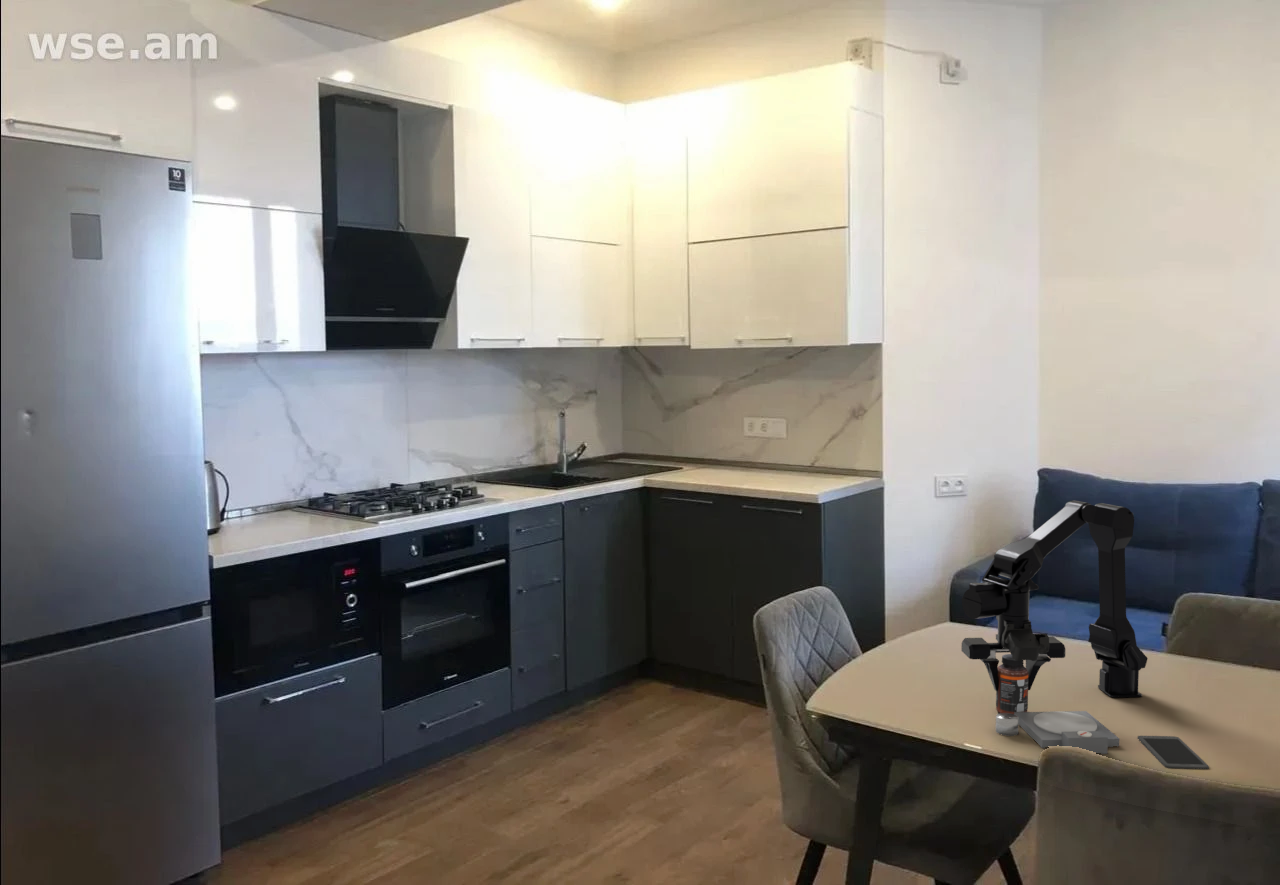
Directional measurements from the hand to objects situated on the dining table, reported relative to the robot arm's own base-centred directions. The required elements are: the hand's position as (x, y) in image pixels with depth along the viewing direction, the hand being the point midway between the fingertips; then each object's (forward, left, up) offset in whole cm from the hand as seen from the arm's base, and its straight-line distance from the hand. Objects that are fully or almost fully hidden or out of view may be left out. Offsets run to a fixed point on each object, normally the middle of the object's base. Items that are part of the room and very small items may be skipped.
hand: (1012, 689), depth 203 cm
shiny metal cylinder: (+4, +10, -5) cm, 12 cm away
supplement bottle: (0, 0, -5) cm, 5 cm away
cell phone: (-21, +21, -5) cm, 30 cm away
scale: (-6, +13, -5) cm, 15 cm away
